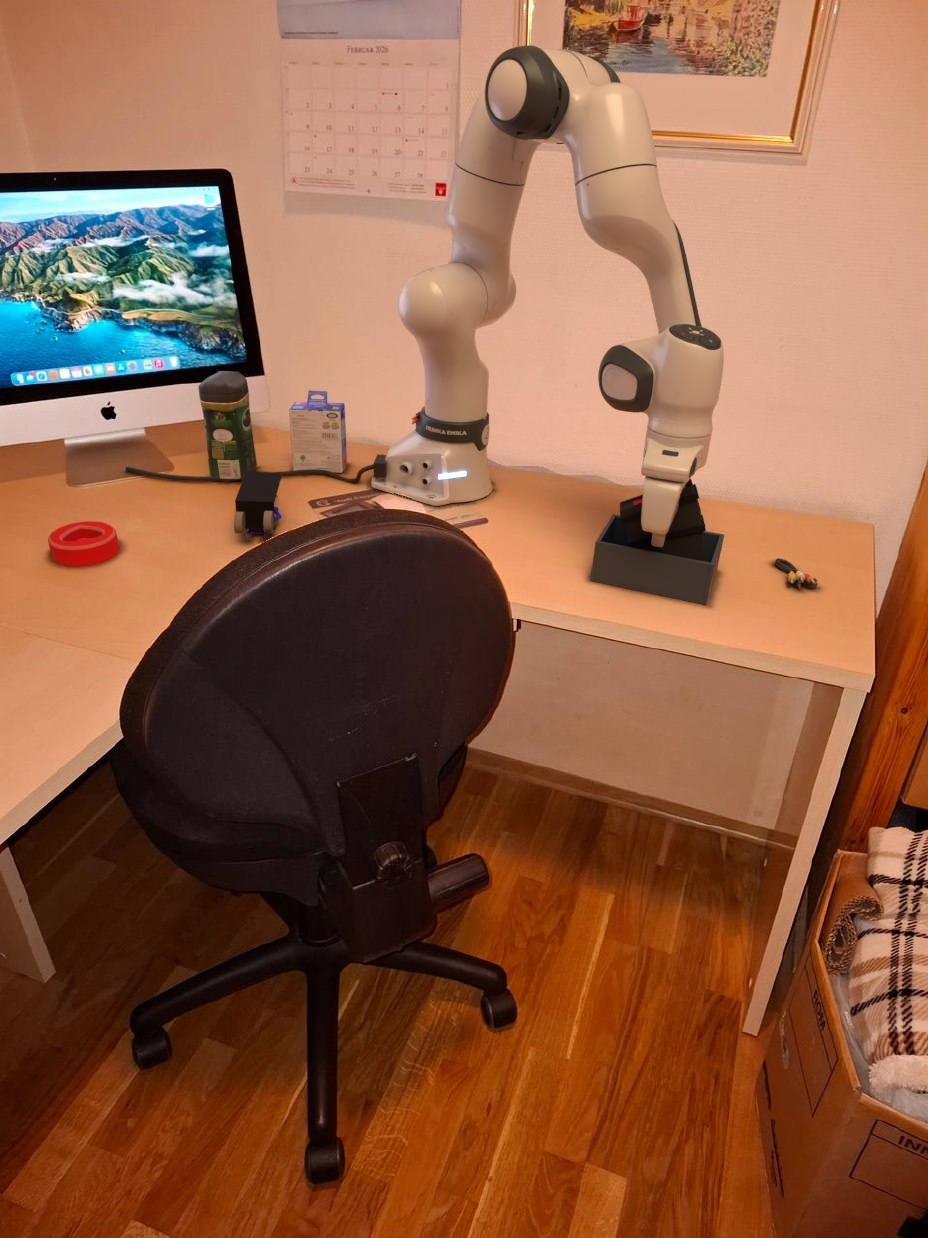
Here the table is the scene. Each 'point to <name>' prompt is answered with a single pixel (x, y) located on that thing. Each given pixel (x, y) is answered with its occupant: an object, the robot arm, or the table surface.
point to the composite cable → (796, 575)
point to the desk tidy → (654, 566)
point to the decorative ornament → (83, 543)
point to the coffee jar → (227, 425)
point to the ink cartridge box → (318, 434)
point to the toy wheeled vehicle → (257, 504)
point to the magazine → (682, 532)
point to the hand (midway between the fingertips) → (661, 537)
